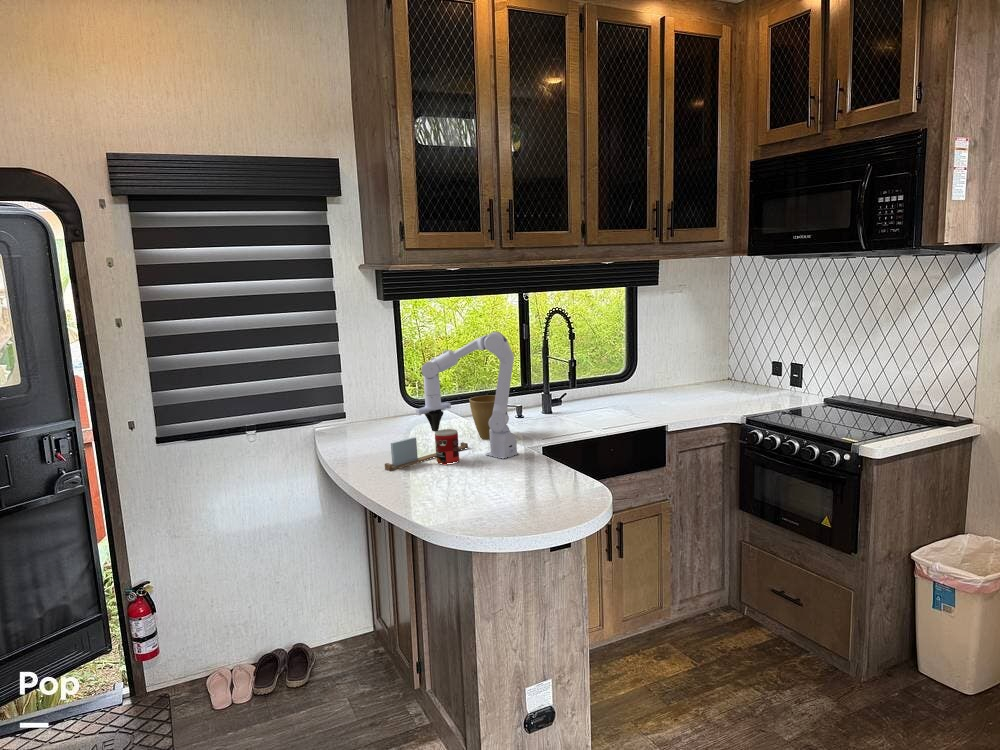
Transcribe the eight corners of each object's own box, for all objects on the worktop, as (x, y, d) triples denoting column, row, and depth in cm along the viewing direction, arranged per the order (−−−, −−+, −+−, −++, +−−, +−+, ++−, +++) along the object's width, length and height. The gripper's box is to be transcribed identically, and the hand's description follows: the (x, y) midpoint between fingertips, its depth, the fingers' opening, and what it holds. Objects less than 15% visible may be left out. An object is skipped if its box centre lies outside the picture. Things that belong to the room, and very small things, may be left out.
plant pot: (485, 444, 265) (483, 403, 263) (464, 438, 277) (461, 398, 274) (516, 437, 274) (514, 397, 271) (494, 431, 285) (492, 393, 283)
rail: (468, 448, 260) (467, 443, 260) (389, 470, 236) (389, 465, 236) (463, 447, 262) (462, 442, 262) (385, 469, 238) (384, 463, 238)
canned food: (434, 461, 245) (431, 431, 244) (455, 457, 248) (453, 427, 247) (440, 466, 238) (438, 435, 237) (462, 462, 241) (460, 432, 240)
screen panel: (418, 459, 245) (416, 437, 244) (395, 466, 238) (393, 443, 237) (415, 458, 246) (413, 437, 245) (391, 465, 240) (389, 442, 238)
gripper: (441, 390, 256) (443, 425, 258) (409, 396, 246) (412, 433, 249) (453, 391, 251) (456, 428, 253) (421, 398, 241) (424, 436, 243)
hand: (435, 431), depth 251 cm, fingers closed
